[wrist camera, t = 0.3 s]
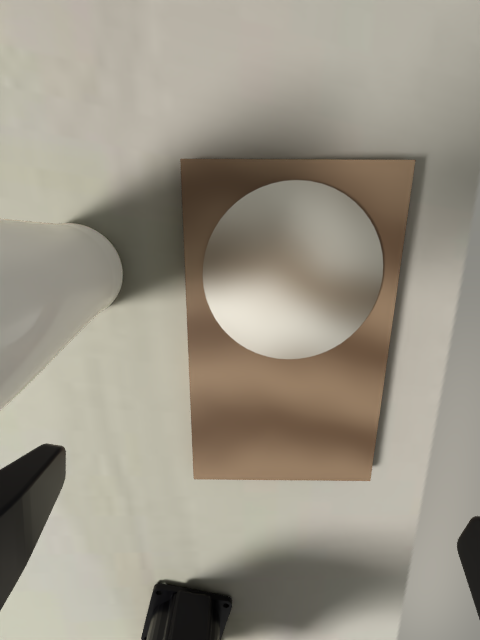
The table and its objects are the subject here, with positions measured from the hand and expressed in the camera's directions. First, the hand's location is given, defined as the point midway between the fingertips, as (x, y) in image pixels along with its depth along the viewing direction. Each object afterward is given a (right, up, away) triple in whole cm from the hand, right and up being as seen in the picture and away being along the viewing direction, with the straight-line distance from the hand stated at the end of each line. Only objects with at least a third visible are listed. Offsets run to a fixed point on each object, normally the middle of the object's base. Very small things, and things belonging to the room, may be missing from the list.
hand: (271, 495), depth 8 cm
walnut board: (+2, +3, +14) cm, 15 cm away
